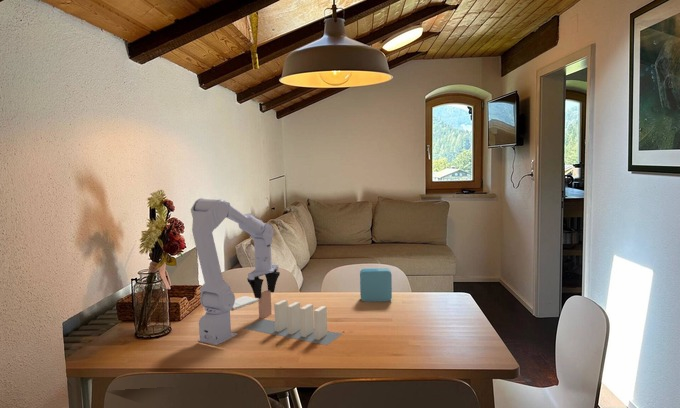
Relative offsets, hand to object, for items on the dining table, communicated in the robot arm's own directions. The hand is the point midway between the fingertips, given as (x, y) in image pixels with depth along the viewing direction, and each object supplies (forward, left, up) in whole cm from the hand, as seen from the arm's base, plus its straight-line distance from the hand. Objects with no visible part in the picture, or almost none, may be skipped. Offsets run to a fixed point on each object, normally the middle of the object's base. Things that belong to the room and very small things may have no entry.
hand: (264, 294), depth 167 cm
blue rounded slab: (+35, -27, -8) cm, 45 cm away
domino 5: (-8, -28, -8) cm, 30 cm away
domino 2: (-8, -13, -8) cm, 17 cm away
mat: (-8, -17, -8) cm, 20 cm away
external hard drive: (+8, +19, -9) cm, 22 cm away
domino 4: (-8, -23, -8) cm, 26 cm away
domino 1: (0, 0, -8) cm, 8 cm away
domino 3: (-8, -18, -8) cm, 21 cm away
